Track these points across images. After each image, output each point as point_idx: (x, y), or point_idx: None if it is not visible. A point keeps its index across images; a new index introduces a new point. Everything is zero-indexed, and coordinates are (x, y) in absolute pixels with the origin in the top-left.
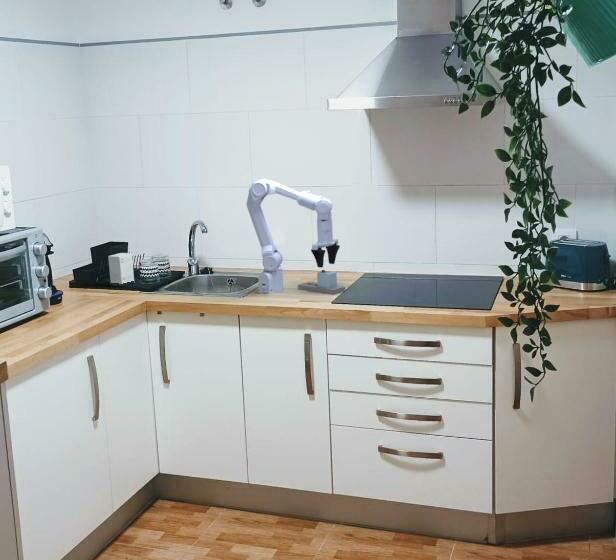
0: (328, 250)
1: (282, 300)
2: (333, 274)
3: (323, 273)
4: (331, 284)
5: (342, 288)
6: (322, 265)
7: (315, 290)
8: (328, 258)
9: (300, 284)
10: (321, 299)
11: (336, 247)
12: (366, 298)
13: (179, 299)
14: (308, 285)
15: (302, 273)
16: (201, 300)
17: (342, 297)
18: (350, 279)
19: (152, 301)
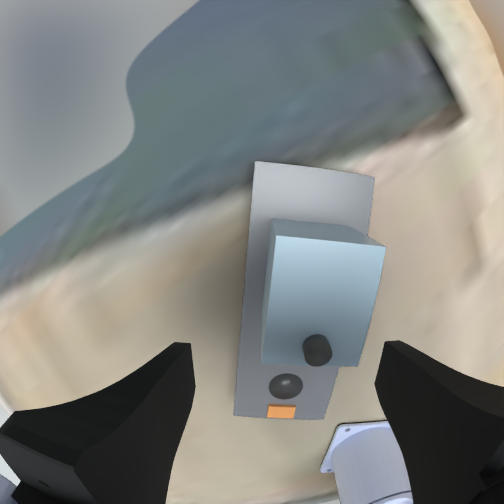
0: (157, 499)
1: (476, 340)
2: (318, 237)
3: (365, 311)
4: (331, 226)
5: (282, 164)
6: (407, 345)
7: None
8: (182, 428)
9: (314, 415)
10: (431, 203)
11: (89, 458)
12: (306, 10)
13: None
14: (321, 376)
15: None
16: None
17: (353, 122)
18: (25, 316)
19: None
